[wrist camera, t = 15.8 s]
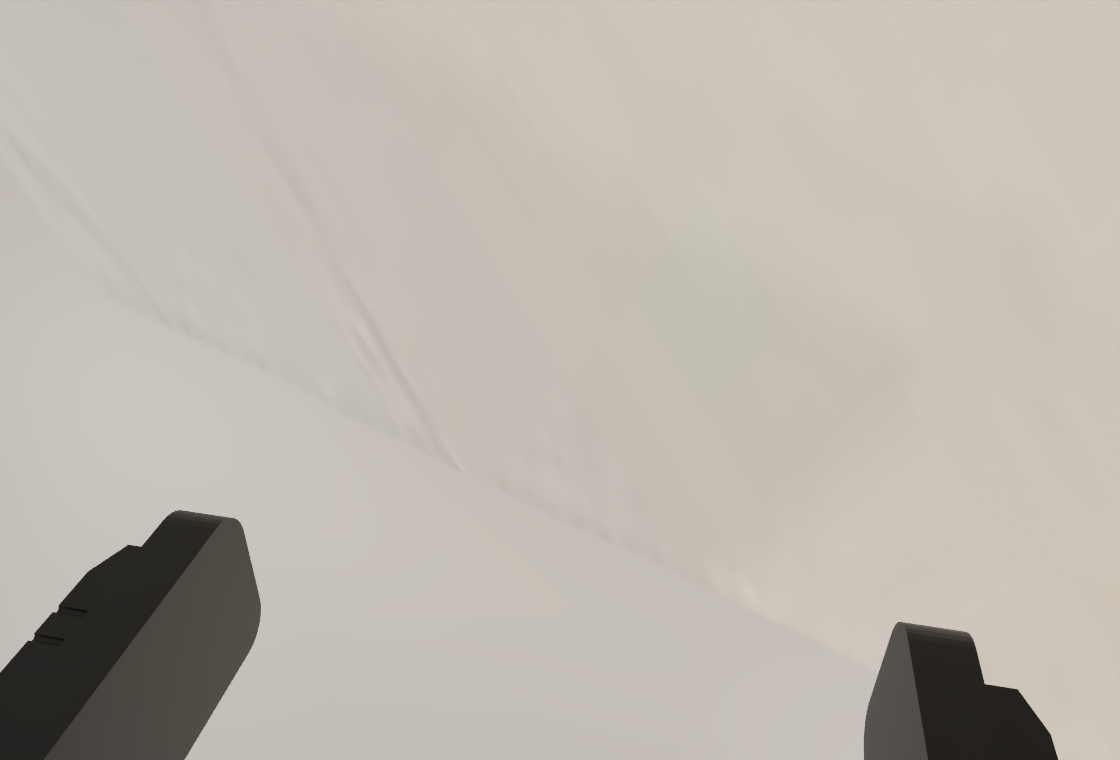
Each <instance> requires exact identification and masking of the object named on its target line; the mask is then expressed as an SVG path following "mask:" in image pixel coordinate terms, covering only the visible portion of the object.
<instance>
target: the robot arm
mask: <svg viewBox="0 0 1120 760" xmlns="http://www.w3.org/2000/svg"><path fill="white" fill-rule="evenodd" d="M260 614H261V604H260V598H259V594H258V589H257V585H256V581H255V577H254V573H253V568H252V564H251V560H250V556H249V552H248V547H247V543H246V539H245V535H244V531H243V528H242V526H241V524H240V522H239V521H238V520H236V519H234V518H228V517H221V516H215V515H208V514H201V513H195V512H188V511H181V510H179V511H175V512H173V513H171V514H170V515H168V516H167V517H166V518H165V519H164V520H163V521H162V523H161V524H160V525H159V526H158V528H157V529H156V530H155V531H154V532H153V534H152V535H151V536H150V537H149V539H148V540H147V541H146V542H145V543H144V544H143V546H142V547H138V546H132V545H128V546H126V547H125V548H123V549H122V550H120V551H119V552H117V553H116V554H114V555H113V556H111V557H110V558H108V559H107V560H105V561H103V562H102V563H101V564H99V565H98V566H96V567H94V568H93V569H91V570H90V571H89V572H87V574H86V575H85V576H84V577H83V578H82V579H81V581H80V582H79V583H78V584H77V585H76V586H75V587H74V589H73V590H72V591H71V592H70V593H69V594H68V595H67V597H66V598H65V599H64V600H63V601H62V602H61V603H60V605H59V609H58V611H57V613H54V612H53V613H52V614H51V615H50V616H49V617H48V618H47V620H46V621H45V622H44V623H43V624H42V625H41V626H40V628H39V629H38V630H37V631H36V632H35V633H34V634H35V637H34V639H33V640H32V641H28V642H27V643H26V644H25V645H24V646H23V647H22V648H21V650H20V651H19V652H18V653H17V654H16V655H15V656H14V657H13V659H12V660H11V661H10V662H9V663H8V664H7V666H6V667H5V668H4V669H3V670H2V671H1V673H0V760H184V759H185V758H186V756H187V754H188V753H189V751H190V749H191V748H192V746H193V744H194V743H195V741H196V739H197V738H198V736H199V734H200V733H201V731H202V729H203V728H204V726H205V724H206V723H207V721H208V719H209V718H210V716H211V715H212V713H213V711H214V710H215V708H216V706H217V705H218V703H219V701H220V700H221V698H222V696H223V695H224V693H225V691H226V690H227V688H228V686H229V685H230V683H231V681H232V680H233V678H234V676H235V674H236V673H237V671H238V670H239V668H240V666H241V665H242V663H243V661H244V660H245V658H246V656H247V655H248V653H249V651H250V649H251V647H252V645H253V643H254V640H255V638H256V635H257V631H258V627H259V622H260ZM864 760H1058V758H1057V754H1056V751H1055V748H1054V744H1053V741H1052V738H1051V734H1050V733H1049V732H1048V730H1047V729H1046V727H1045V726H1044V725H1043V723H1042V722H1041V721H1040V719H1039V718H1038V717H1037V715H1036V714H1035V713H1034V711H1033V710H1032V708H1031V707H1030V706H1029V704H1028V703H1027V702H1026V700H1025V699H1024V698H1023V696H1022V695H1021V693H1020V692H1019V691H1018V689H1011V688H1005V687H999V686H993V685H986V684H984V680H983V676H982V671H981V667H980V663H979V659H978V655H977V651H976V647H975V644H974V641H973V639H972V637H971V636H970V634H969V633H967V632H962V631H956V630H949V629H943V628H936V627H929V626H923V625H916V624H910V623H903V622H898V623H897V624H896V625H895V627H894V629H893V631H892V634H891V637H890V640H889V643H888V646H887V649H886V653H885V656H884V659H883V662H882V665H881V668H880V671H879V674H878V677H877V680H876V683H875V686H874V689H873V692H872V696H871V699H870V702H869V705H868V710H867V715H866V721H865V733H864Z"/></svg>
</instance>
